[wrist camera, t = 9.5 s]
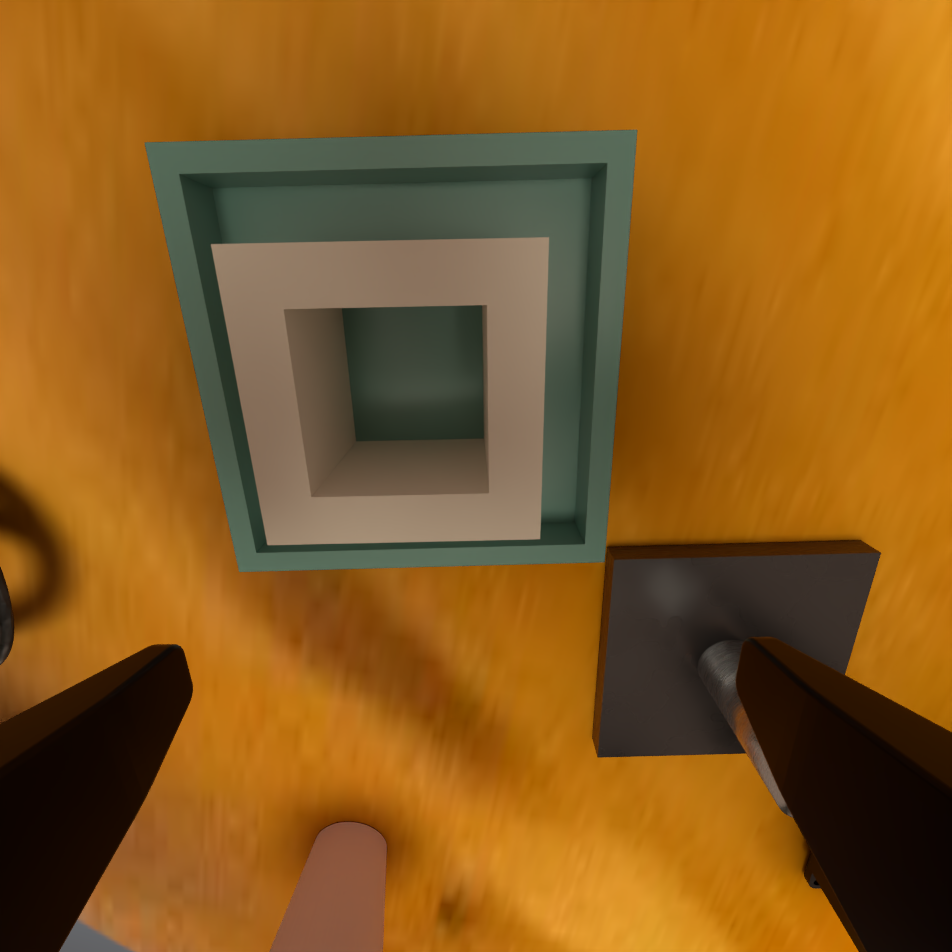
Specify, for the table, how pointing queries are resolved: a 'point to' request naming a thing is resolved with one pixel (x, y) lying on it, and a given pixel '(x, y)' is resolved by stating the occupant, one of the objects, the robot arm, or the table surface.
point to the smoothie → (338, 894)
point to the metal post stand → (714, 637)
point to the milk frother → (5, 620)
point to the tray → (419, 308)
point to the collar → (329, 396)
